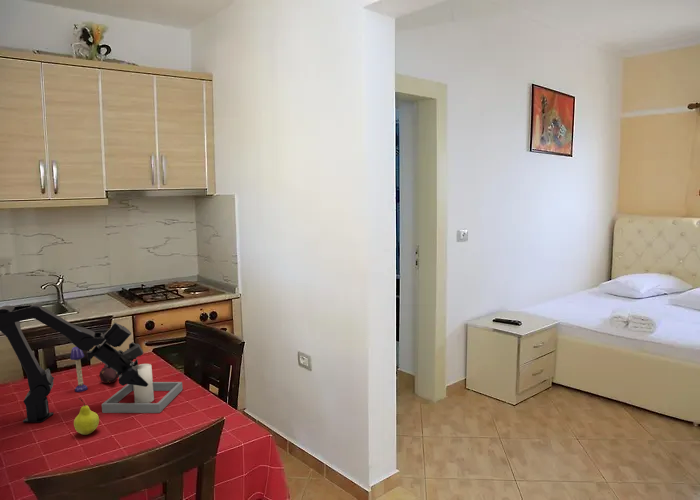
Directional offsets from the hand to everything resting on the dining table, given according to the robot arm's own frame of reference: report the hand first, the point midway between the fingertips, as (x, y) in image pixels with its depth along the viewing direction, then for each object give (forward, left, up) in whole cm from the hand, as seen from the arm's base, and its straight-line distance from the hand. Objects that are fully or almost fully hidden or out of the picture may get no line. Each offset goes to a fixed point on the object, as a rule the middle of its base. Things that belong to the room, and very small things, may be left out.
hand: (147, 382), depth 185 cm
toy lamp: (+9, +31, -7) cm, 33 cm away
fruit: (-25, +8, -7) cm, 27 cm away
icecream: (+17, +24, -7) cm, 30 cm away
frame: (-1, +1, -7) cm, 7 cm away
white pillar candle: (-1, +1, -7) cm, 7 cm away
